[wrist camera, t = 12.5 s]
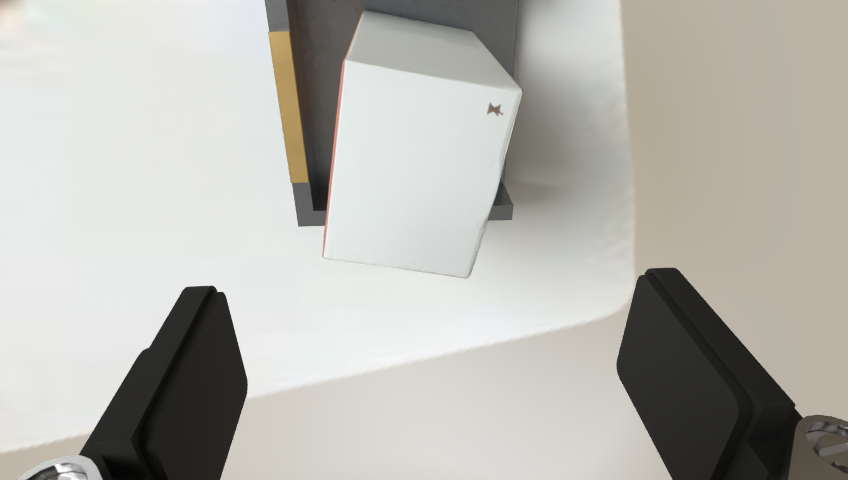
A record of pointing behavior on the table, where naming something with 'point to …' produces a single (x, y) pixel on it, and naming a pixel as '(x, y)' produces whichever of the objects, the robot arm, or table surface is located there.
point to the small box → (416, 146)
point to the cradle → (321, 72)
